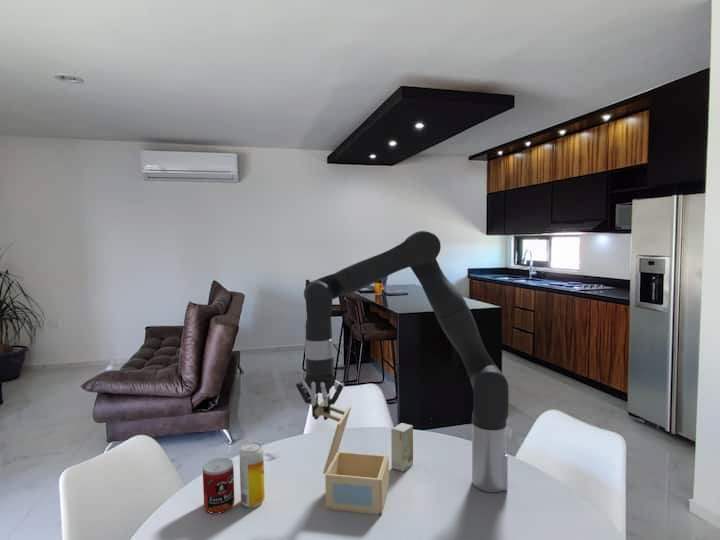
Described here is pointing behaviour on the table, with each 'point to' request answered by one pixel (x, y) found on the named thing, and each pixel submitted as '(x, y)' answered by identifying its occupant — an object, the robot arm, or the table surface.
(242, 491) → the beer can
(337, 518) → the table surface
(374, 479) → the wooden box
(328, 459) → the flap
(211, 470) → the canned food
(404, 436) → the skincare box
